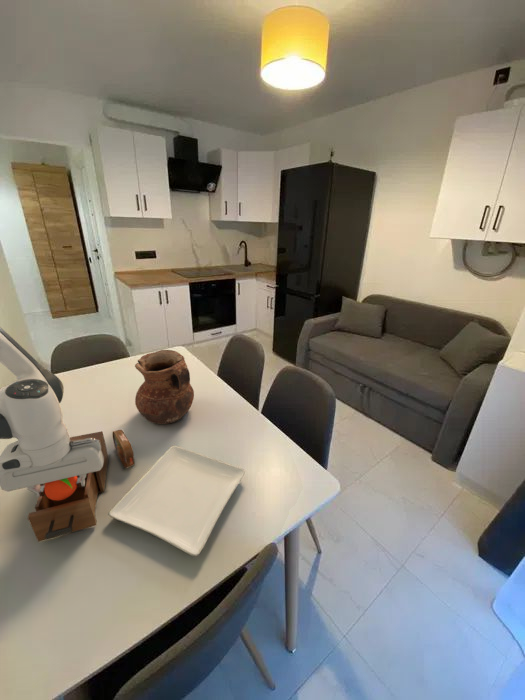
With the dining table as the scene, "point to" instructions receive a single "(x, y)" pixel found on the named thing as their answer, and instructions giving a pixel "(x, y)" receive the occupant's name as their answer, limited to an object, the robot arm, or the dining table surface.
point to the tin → (123, 448)
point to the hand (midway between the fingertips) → (62, 489)
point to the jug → (164, 387)
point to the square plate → (180, 498)
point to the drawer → (66, 511)
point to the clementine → (60, 488)
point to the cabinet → (102, 473)
